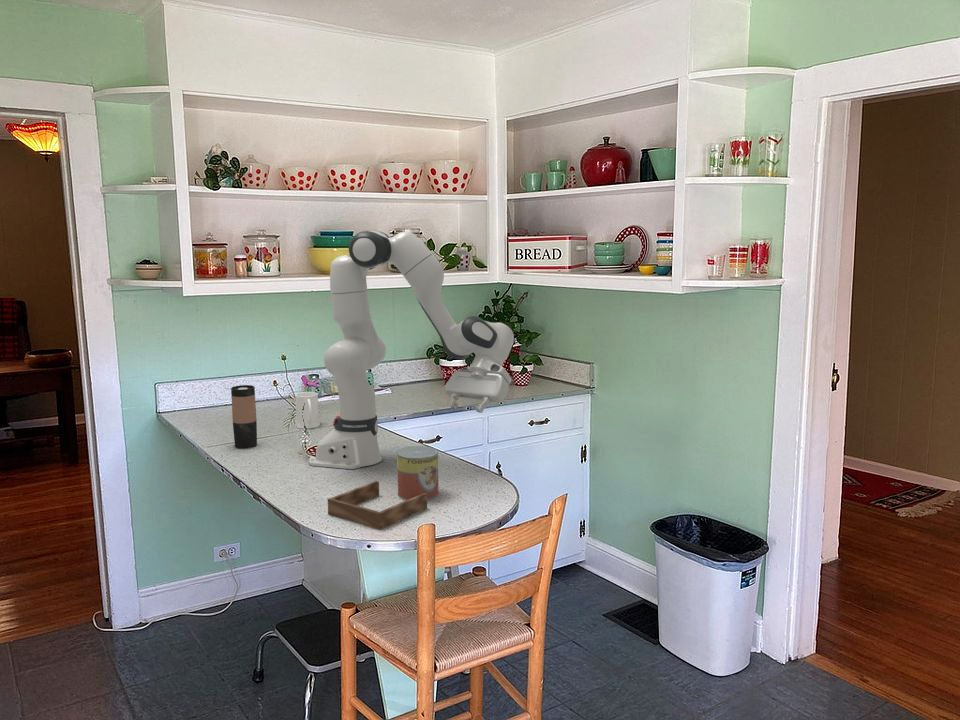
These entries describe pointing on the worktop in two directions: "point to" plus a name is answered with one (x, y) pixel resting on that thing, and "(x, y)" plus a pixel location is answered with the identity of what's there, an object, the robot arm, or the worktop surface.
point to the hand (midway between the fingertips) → (465, 409)
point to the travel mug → (244, 416)
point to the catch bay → (349, 510)
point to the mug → (307, 410)
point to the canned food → (417, 472)
